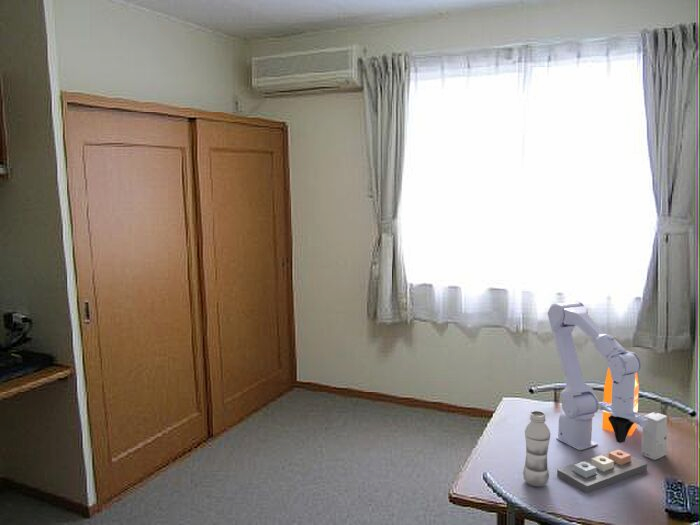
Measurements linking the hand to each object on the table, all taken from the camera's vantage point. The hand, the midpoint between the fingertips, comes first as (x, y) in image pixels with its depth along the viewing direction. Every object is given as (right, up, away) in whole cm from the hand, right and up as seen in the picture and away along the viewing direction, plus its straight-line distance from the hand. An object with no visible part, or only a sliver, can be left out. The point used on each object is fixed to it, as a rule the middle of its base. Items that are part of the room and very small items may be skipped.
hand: (620, 441), depth 163 cm
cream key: (-6, -6, -2) cm, 9 cm away
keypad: (-6, -8, -2) cm, 10 cm away
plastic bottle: (-26, -10, -7) cm, 29 cm away
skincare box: (+13, -7, +8) cm, 17 cm away
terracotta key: (0, -6, +1) cm, 6 cm away
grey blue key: (-12, -7, -5) cm, 15 cm away
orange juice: (+12, -4, +26) cm, 29 cm away
